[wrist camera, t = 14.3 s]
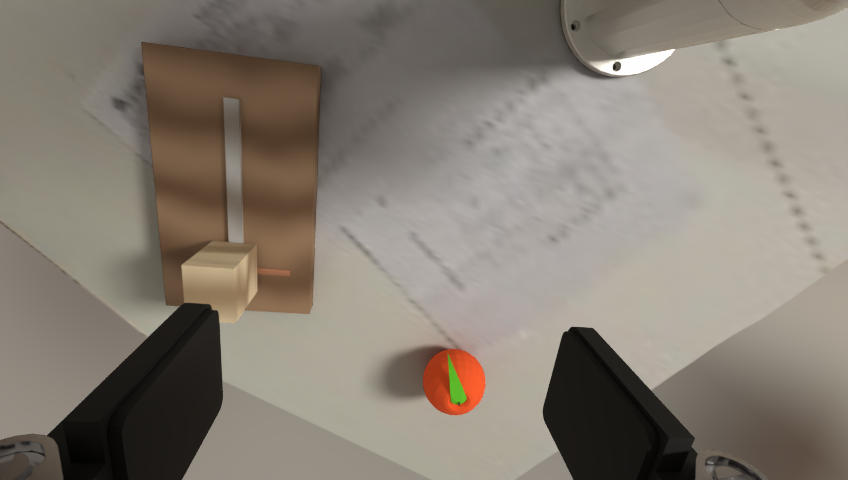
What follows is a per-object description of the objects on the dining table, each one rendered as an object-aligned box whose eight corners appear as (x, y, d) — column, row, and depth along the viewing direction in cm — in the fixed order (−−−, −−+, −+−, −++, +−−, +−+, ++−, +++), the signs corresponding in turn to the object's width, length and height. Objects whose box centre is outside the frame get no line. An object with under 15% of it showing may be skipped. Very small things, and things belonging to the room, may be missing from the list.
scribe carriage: (212, 240, 37) (181, 265, 32) (256, 244, 38) (233, 268, 32) (215, 294, 39) (186, 326, 33) (257, 296, 39) (235, 329, 34)
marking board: (154, 45, 34) (137, 40, 32) (321, 67, 36) (316, 65, 33) (176, 296, 41) (163, 307, 39) (312, 304, 43) (308, 316, 41)
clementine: (412, 337, 46) (416, 377, 39) (470, 323, 46) (485, 360, 39) (427, 391, 48) (433, 437, 42) (482, 378, 48) (497, 422, 42)
